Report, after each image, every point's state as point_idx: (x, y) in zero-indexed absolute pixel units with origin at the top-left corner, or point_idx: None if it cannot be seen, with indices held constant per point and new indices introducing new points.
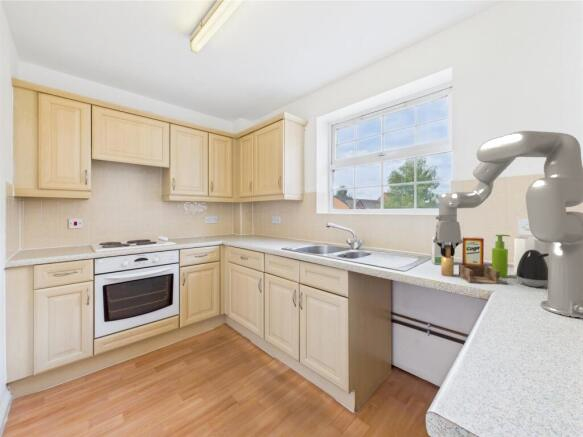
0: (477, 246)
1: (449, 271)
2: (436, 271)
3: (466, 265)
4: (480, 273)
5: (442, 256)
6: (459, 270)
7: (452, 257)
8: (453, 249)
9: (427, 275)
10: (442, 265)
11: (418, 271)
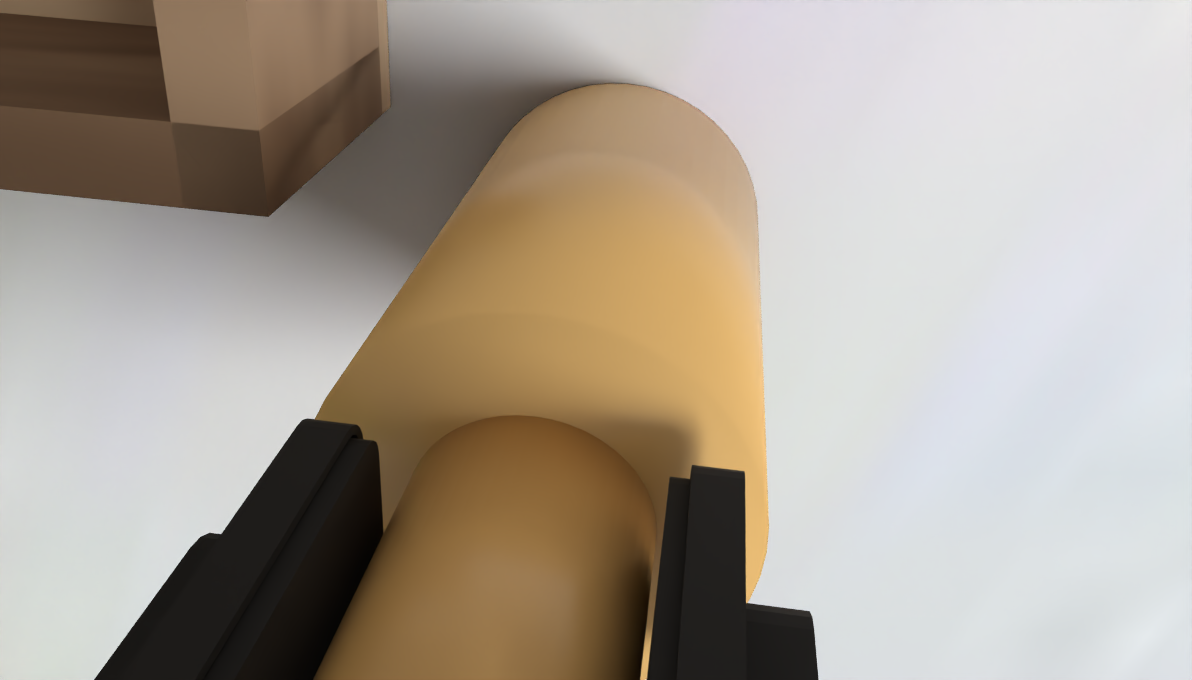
0: None
1: (614, 124)
2: None
3: (41, 164)
4: None
5: None
6: (327, 111)
7: None
8: (144, 674)
9: (1183, 173)
10: (758, 323)
11: (1159, 547)
